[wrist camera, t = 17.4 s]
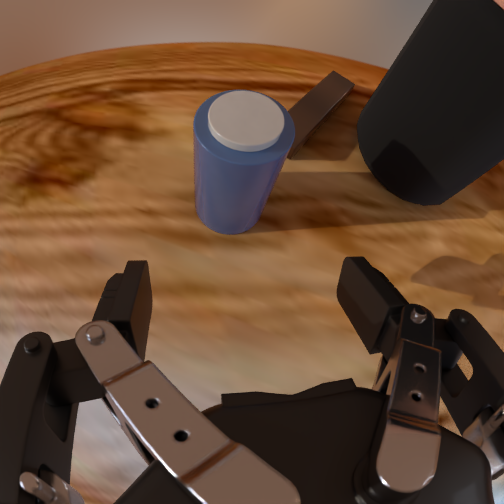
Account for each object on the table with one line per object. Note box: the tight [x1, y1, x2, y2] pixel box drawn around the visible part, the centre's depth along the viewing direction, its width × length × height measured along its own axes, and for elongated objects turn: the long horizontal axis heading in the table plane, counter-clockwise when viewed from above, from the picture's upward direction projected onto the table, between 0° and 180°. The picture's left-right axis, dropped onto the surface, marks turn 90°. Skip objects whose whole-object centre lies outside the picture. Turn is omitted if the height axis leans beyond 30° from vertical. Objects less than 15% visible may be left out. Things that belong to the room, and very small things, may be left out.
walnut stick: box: [287, 71, 355, 159], centre depth 23 cm, size 11×2×2 cm, turn 144°
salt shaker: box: [193, 90, 295, 234], centre depth 16 cm, size 4×4×8 cm
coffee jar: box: [357, 0, 504, 206], centre depth 15 cm, size 11×11×18 cm
